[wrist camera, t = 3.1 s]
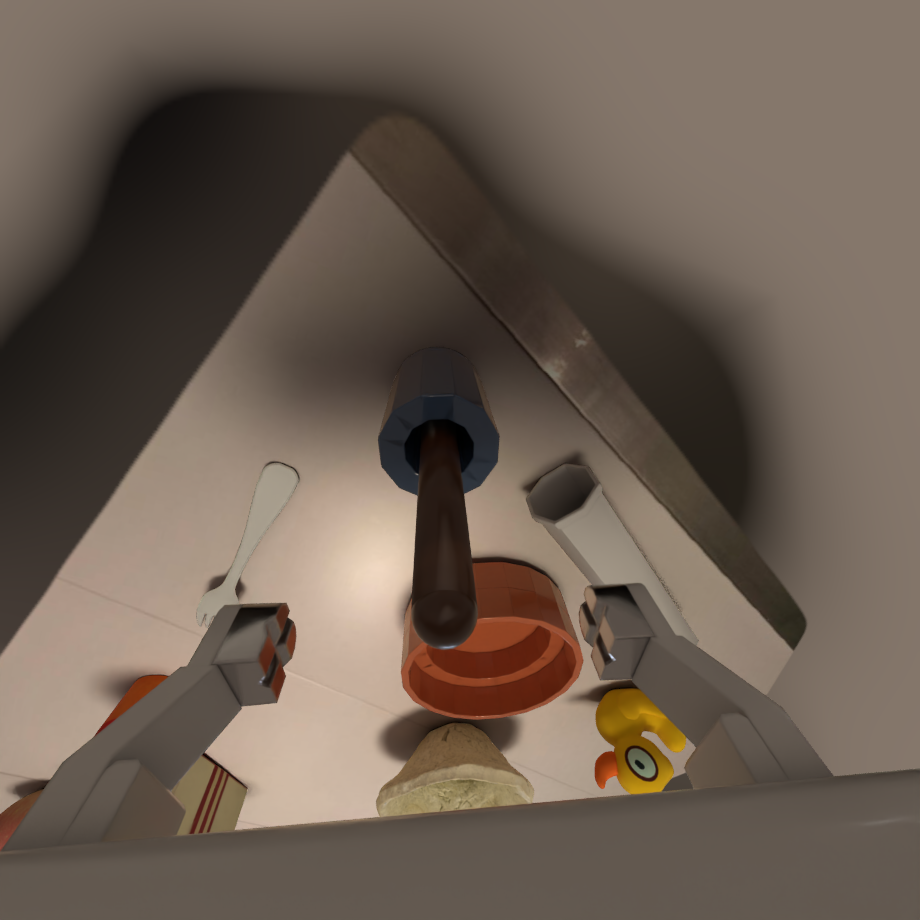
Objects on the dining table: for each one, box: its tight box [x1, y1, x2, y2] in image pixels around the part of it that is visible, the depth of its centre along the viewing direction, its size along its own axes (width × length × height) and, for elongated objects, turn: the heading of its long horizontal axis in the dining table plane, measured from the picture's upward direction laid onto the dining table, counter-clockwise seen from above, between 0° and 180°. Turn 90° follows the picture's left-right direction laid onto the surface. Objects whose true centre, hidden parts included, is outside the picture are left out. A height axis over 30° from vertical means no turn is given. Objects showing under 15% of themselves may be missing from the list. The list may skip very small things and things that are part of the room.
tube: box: [526, 463, 699, 645], centre depth 32 cm, size 5×5×25 cm
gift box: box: [171, 755, 247, 835], centre depth 44 cm, size 17×18×17 cm
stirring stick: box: [411, 419, 478, 650], centre depth 17 cm, size 2×2×17 cm
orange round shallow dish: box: [401, 562, 583, 720], centre depth 34 cm, size 15×15×6 cm
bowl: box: [376, 723, 534, 817], centre depth 44 cm, size 14×18×15 cm
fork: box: [196, 463, 299, 628], centre depth 31 cm, size 3×21×3 cm, turn 148°
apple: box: [0, 789, 44, 851], centre depth 47 cm, size 9×9×8 cm
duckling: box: [595, 688, 686, 794], centre depth 42 cm, size 11×5×10 cm, turn 94°
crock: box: [378, 347, 499, 496], centre depth 21 cm, size 6×6×8 cm
